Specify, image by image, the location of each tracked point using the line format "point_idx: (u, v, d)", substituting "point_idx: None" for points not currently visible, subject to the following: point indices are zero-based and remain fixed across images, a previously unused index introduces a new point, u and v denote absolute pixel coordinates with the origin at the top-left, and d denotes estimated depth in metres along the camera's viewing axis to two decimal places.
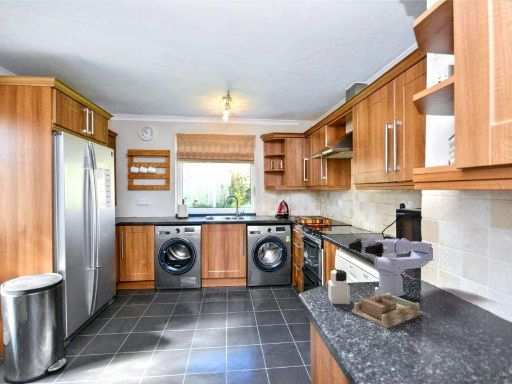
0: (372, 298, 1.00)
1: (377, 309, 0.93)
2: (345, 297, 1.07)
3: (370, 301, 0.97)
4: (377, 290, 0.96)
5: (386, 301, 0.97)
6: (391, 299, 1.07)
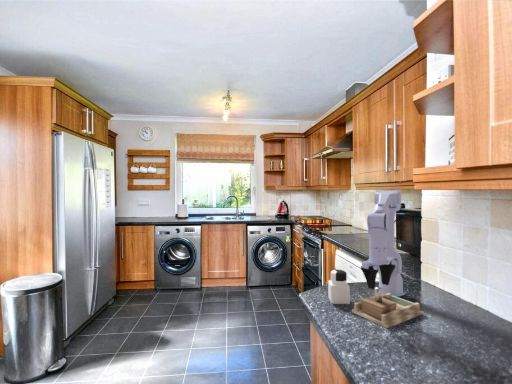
0: (372, 298, 1.00)
1: (377, 309, 0.93)
2: (345, 297, 1.07)
3: (370, 301, 0.97)
4: (377, 290, 0.96)
5: (386, 301, 0.97)
6: (391, 299, 1.07)
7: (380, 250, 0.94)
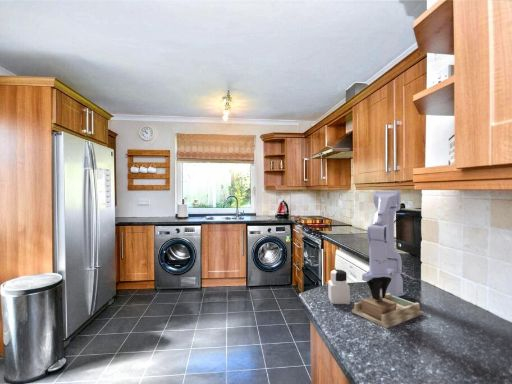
0: (372, 298, 1.00)
1: (377, 309, 0.93)
2: (345, 297, 1.07)
3: (370, 301, 0.97)
4: None
5: (386, 301, 0.97)
6: (391, 299, 1.07)
7: (380, 262, 0.94)
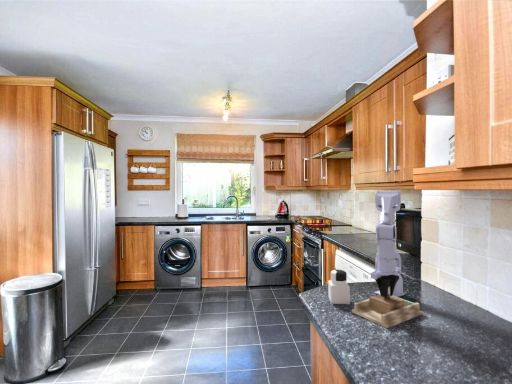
0: (380, 296, 1.02)
1: (386, 306, 0.95)
2: (345, 297, 1.07)
3: (378, 298, 0.99)
4: None
5: (394, 298, 0.99)
6: None
7: (388, 261, 0.97)
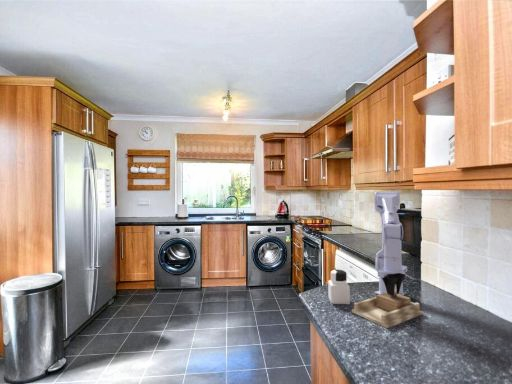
0: (386, 294, 1.04)
1: (392, 304, 0.97)
2: (345, 297, 1.07)
3: (385, 296, 1.01)
4: None
5: (400, 296, 1.01)
6: None
7: (395, 259, 0.98)
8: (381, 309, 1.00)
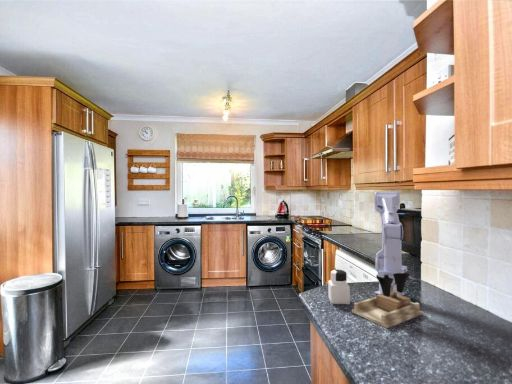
0: None
1: (392, 304, 0.97)
2: (345, 297, 1.07)
3: (385, 296, 1.01)
4: (392, 286, 1.00)
5: (400, 296, 1.01)
6: None
7: (395, 259, 0.98)
8: (381, 309, 1.00)
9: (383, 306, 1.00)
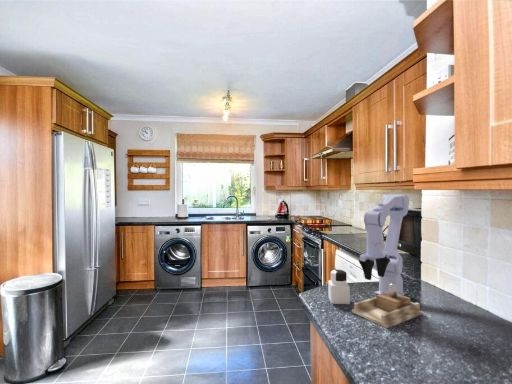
0: (386, 294, 1.04)
1: (392, 304, 0.97)
2: (345, 297, 1.07)
3: (385, 296, 1.01)
4: (392, 286, 1.00)
5: (400, 296, 1.01)
6: None
7: (376, 245, 1.04)
8: (381, 309, 1.00)
9: (383, 306, 1.00)
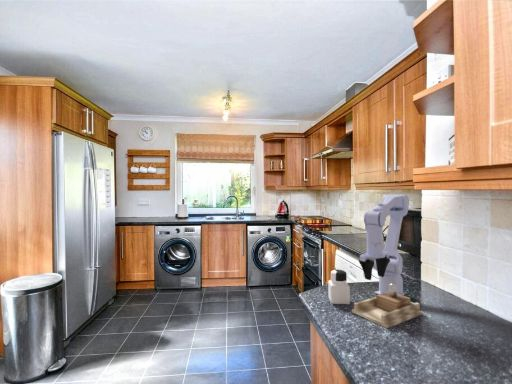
0: (386, 294, 1.04)
1: (392, 304, 0.97)
2: (345, 297, 1.07)
3: (385, 296, 1.01)
4: (392, 286, 1.00)
5: (400, 296, 1.01)
6: None
7: (376, 245, 1.04)
8: (381, 309, 1.00)
9: (383, 306, 1.00)
